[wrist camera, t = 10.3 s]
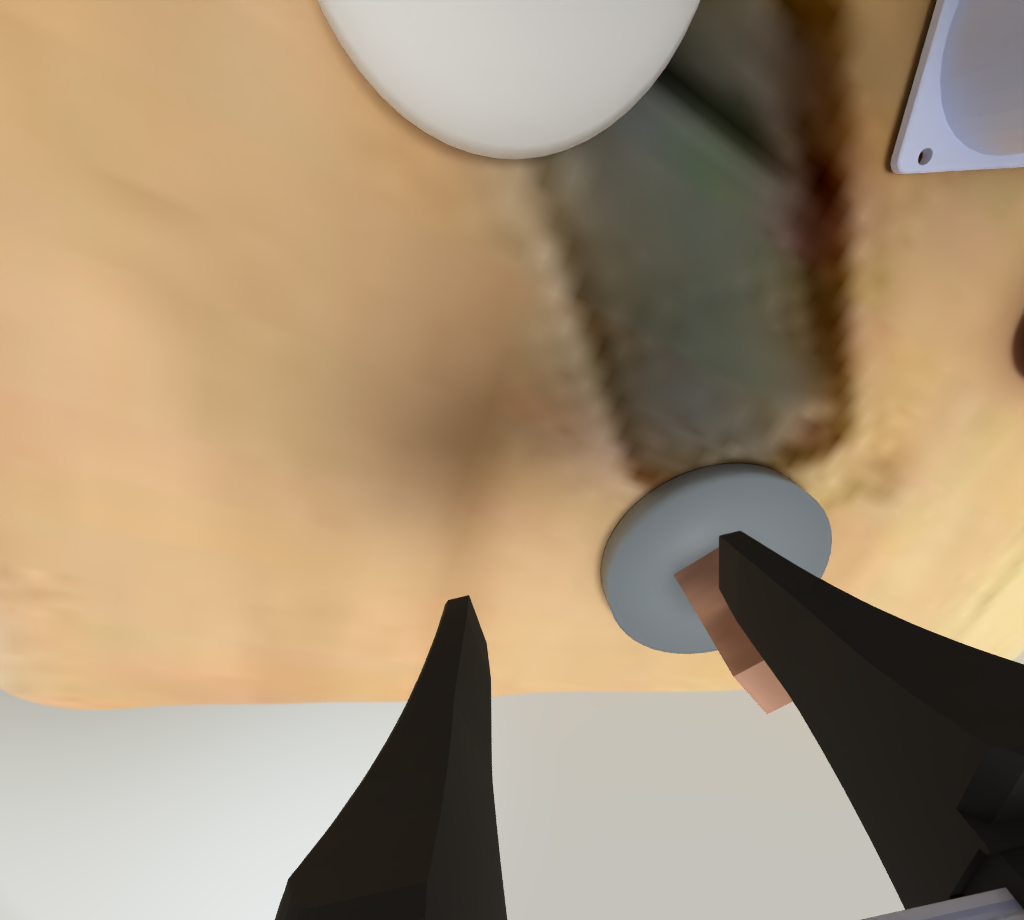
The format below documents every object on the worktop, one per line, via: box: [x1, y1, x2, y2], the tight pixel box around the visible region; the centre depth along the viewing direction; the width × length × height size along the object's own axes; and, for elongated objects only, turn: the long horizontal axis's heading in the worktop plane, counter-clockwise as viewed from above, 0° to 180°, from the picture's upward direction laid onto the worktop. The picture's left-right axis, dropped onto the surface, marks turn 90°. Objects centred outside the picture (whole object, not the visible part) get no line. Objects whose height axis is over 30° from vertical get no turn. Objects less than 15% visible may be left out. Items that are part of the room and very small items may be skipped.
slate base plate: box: [601, 463, 832, 654], centre depth 25 cm, size 12×12×2 cm
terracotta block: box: [674, 547, 792, 714], centre depth 22 cm, size 4×4×6 cm
